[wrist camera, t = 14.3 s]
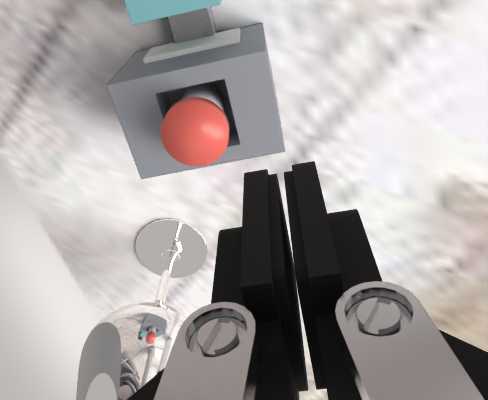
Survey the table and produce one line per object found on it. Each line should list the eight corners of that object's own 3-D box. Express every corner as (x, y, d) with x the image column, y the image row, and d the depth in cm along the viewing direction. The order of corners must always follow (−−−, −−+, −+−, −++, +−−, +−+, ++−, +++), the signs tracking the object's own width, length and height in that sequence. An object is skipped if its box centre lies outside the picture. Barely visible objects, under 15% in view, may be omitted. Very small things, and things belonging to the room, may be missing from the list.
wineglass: (196, 197, 39) (160, 380, 23) (231, 270, 43) (221, 467, 27) (109, 225, 40) (21, 415, 25) (151, 293, 44) (98, 493, 29)
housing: (135, 47, 32) (104, 80, 26) (261, 18, 31) (264, 44, 25) (162, 129, 36) (141, 179, 29) (278, 106, 35) (285, 151, 28)
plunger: (166, 82, 28) (151, 110, 24) (224, 70, 28) (219, 96, 24) (183, 136, 30) (172, 171, 26) (237, 125, 30) (235, 159, 25)
